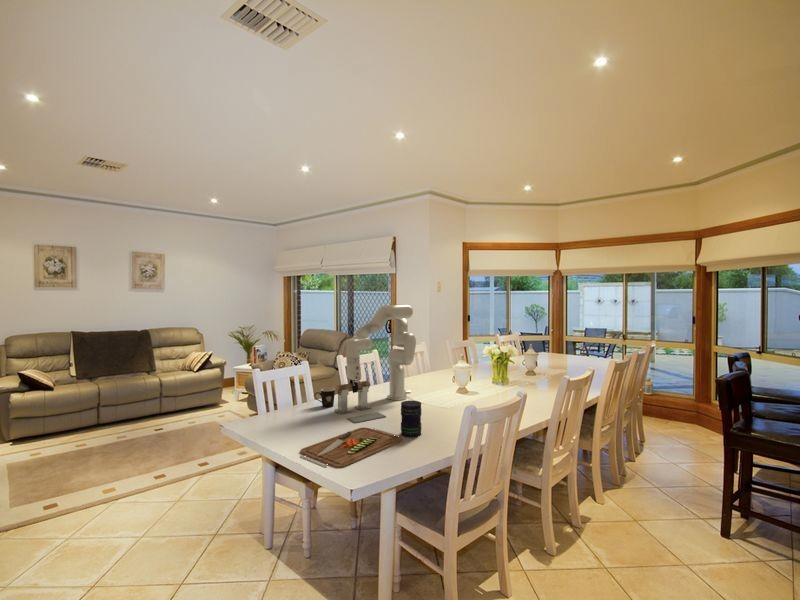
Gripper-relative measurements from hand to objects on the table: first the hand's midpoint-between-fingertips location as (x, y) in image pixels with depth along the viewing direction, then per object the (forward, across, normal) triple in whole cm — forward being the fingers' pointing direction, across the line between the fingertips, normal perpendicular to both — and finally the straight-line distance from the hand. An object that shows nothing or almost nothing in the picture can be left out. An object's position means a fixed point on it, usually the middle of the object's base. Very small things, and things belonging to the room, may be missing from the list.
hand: (353, 391), depth 236 cm
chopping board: (+11, -50, +27) cm, 58 cm away
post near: (+11, 0, +7) cm, 13 cm away
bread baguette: (-1, 0, 0) cm, 1 cm away
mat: (+11, -18, +2) cm, 21 cm away
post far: (+11, 0, -6) cm, 12 cm away
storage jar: (+11, -52, -3) cm, 53 cm away
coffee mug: (+11, +16, +11) cm, 22 cm away
